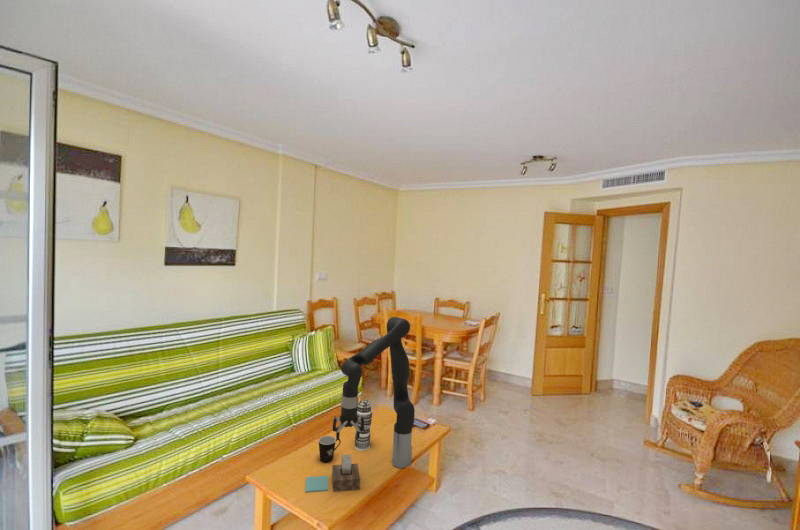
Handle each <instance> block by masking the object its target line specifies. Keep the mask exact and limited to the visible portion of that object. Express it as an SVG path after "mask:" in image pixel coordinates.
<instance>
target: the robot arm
mask: <svg viewBox="0 0 800 530" xmlns="http://www.w3.org/2000/svg"><path fill="white" fill-rule="evenodd" d="M410 330H411V324H410V322H409V321H408V320H407V319H406V318H402V317H397V316H392V317H390V318H388V320H387V322H386V332H387V333H386V334H385V335H383V336H381V337H379V338H378V339H375V340H373V341H372V342H370V343H369V344H367V345H366V346H364V348H362V349H361V351H359V352H358V353H355V354H354V355H352V356H350V357H348V358H347V359H346V360H345V361H343V362H342V365H341V367H340V369H341V372H342V374H344V375H345V376H347V380H346V381H345V382H343V384H342V395H341V403H340V405H341V407H340V408H341V409H340V416H336V415H335V416H333V418H332V419H333V421H332V422H333V423H332V431H333V432H335V439H338V440H337V441H339V439H340V432H341V430H343V428H352V427H353V428H354V429H355V434H356V439H358V438H359V436H360V431H361V430H364V417H363V415H362V416H361V417H358V416H357V409H358V403H359V385H360V382H361V379H362V376H363V369H362V366H368V365H370V363H372V362H373V361H374V360H375V359H376V358H378V356H379V355H380V354H381V353H383V352H384V351H385V350H387V349H388V348H389V354H390V366H391V377H392V386H393V409H394V412H395V413H396V420H395V421H396V422H395V423H394V426H393V440H392V441H393V442H392V457H391V461H392V462H391V463H392V466H394V468H395V467H396V468H398V469H406V468H409V467H410V466H412V455H413V446H412V436H413V434H412V433H413V428H414V423H415V406H414V404H413V403H412V401H411V400H410V397H409V390H408V389H409V388H408V384H409V379H410V373H411V372H410V371H411V369H410V360H409V357H408V354H407V352H406V350H405V348H404V346H403V342H402V339H403V338H404V337H406V336H407V335H408V334H409V333H410ZM357 420H359V421H360V422H361V426H360V427H359V426H358V425H357V423H356V422H357ZM338 422H340V423H339V424H338V426H337V423H338Z"/></svg>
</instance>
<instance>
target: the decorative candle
mask: <svg viewBox="0 0 800 530" xmlns="http://www.w3.org/2000/svg"><path fill="white" fill-rule="evenodd" d="M372 406H373V404H372V403H371V402H370V401H369V400H365V399H364V400H363V399H362V400H359V401H358V409H357V416H358V417H361V416H362V415H363V417H364V430H361V431H360V436H359V438H358V439H356V433H354V448H355V450H358V451H359V452H364V451H367V450H369V449H370V447H371V435H372V434H371V428H372V427H371V426H372V420H373V419H372V418H373V416H372V415H373V412H372ZM356 423H357V425H358V426H359V427H360V426H361V422H360V421H359V420H357V422H356Z"/></svg>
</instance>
